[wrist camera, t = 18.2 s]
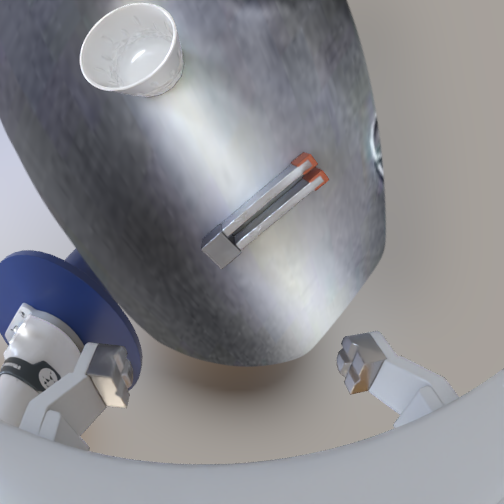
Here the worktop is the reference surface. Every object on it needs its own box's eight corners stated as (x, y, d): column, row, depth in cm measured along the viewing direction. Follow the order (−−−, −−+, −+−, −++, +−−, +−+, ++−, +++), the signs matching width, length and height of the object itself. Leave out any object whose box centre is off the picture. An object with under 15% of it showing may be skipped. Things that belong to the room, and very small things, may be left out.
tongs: (303, 151, 29) (312, 154, 26) (321, 175, 30) (331, 180, 27) (201, 239, 32) (199, 249, 29) (221, 259, 33) (222, 270, 30)
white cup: (181, 104, 25) (164, 91, 16) (114, 101, 23) (70, 93, 14) (196, 39, 21) (187, 1, 13) (128, 39, 20) (94, 8, 11)
